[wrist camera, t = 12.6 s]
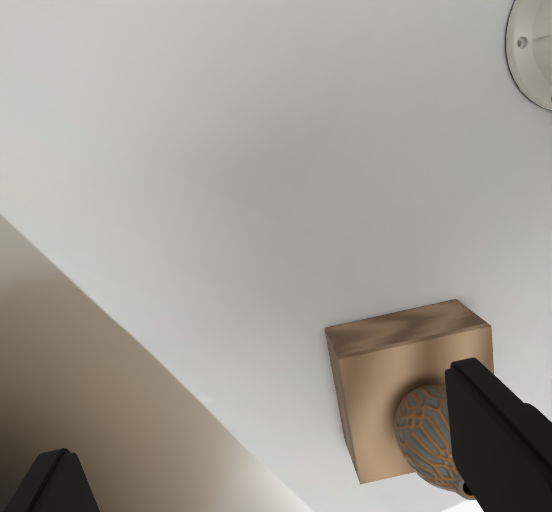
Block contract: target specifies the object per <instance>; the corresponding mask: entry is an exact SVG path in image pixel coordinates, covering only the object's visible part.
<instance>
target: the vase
mask: <svg viewBox="0 0 552 512" xmlns="http://www.w3.org/2000/svg"><path fill="white" fill-rule="evenodd" d="M394 428H395V436H396V440H397V443H398V446H399V448H400V450H401V453H402V455H403V456H404V458H405V460H406V461H407V463H408V464H409V465H410V467H411V468H412V469H413V470H414V471H415V472H416V473H417V474H418V475H419V476H420V477H421V478H423V479H424V480H425V481H427V482H428V483H430V484H432V485H434V486H436V487H438V488H441V489H444V490H448V491H452V492H456V493H457V494H459V495H460V496H462V497H463V498H465V499H468V500H476V499H475V497H474V496H473V494H472V492H471V491H470V489H469V488H468V486H467V485H466V483H465V482H464V480H463V479H462V477H461V475H460V474H459V472H458V471H457V469H456V466H455V464H454V461H453V457H452V448H451V437H450V427H449V416H448V405H447V395H446V387H444V386H440V385H427V386H422V387H419V388H416V389H414V390H412V391H411V392H409V393H408V394H407V395H406V396H405V397H404V398H403V399H402V401H401V402H400V404H399V406H398V408H397V410H396V413H395V420H394Z"/></svg>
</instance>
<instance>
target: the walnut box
mask: <svg viewBox="0 0 552 512" xmlns="http://www.w3.org/2000/svg"><path fill="white" fill-rule="evenodd" d="M325 333H326V338H327V344H328V349H329V355H330V360H331V366H332V371H333V377H334V382H335V388H336V394H337V399H338V405H339V410H340V416H341V421H342V427H343V432H344V438H345V442H346V444H347V447H348V450H349V453H350V456H351V459H352V462H353V465H354V467H355V470H356V473H357V476H358V479H359V482H360V484H364V483H368V482H373V481H377V480H382V479H386V478H390V477H395V476H399V475H403V474H408V473H412V472H415V471H414V470H413V469H412V468H411V467H410V465H409V464H408V463H407V461H406V460H405V458H404V456H403V455H402V453H401V450H400V448H399V446H398V443H397V440H396V436H395V428H394V420H395V413H396V410H397V408H398V406H399V404H400V402H401V401H402V399H403V398H404V397H405V396H406V395H407V394H408V393H409V392H411V391H412V390H414V389H416V388H419V387H422V386H427V385H440V386H444V387H446V384H445V370H446V369H450V365H451V363H452V362H454V361H459V360H463V359H468V358H472V357H474V358H476V359H478V360H479V361H480V362H481V363H482V364H483V365H484V366H485V367H486V368H487V369H488V370H489V371H491V372H492V373H493V374H494V366H493V348H492V330H491V325H489V324H488V323H487V322H485V321H484V320H483V319H481V318H480V317H479V316H477V315H476V314H475V313H473V312H472V311H471V310H470V309H468V308H467V307H466V306H464V305H463V304H462V303H460V302H459V301H458V300H451V301H446V302H442V303H437V304H433V305H428V306H423V307H419V308H414V309H410V310H405V311H401V312H396V313H391V314H387V315H382V316H378V317H373V318H369V319H364V320H359V321H355V322H350V323H346V324H341V325H336V326H332V327H327V328H325Z"/></svg>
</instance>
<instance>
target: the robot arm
mask: <svg viewBox="0 0 552 512" xmlns="http://www.w3.org/2000/svg"><path fill="white" fill-rule="evenodd" d="M517 43H518V46H517ZM506 52H507V58H508V64H509V67H510V70H511V73H512V76H513V78H514V80H515V82H516V83H517V85H518V87H519V88H520V90H521V91H522V92H523V93H524V94H525V95H526V96H527V97H528V98H529V99H530V100H531V101H533V102H534V103H536V104H537V105H539V106H541V107H543V108H546V109H549V110H552V0H515V2H514V5H513V8H512V11H511V14H510V17H509V22H508V28H507V34H506ZM445 384H446V395H447V405H448V416H449V427H450V437H451V448H452V457H453V461H454V464H455V466H456V469H457V471H458V472H459V474H460V475H461V477H462V479H463V480H464V482H465V483H466V485H467V486H468V488H469V489H470V491H471V492H472V494H473V496H474V497H475V499H476V500H477V502H478V503H479V505H480V506H481V508H482V509H483V511H484V512H552V422H551V421H549V420H548V419H547V418H546V417H545V416H544V415H543V414H542V413H541V412H540V411H539V410H538V409H536V408H535V407H534V406H532V405H531V404H528V403H523V402H522V401H521V400H520V399H519V398H518V397H517V396H516V395H515V394H514V393H513V392H512V391H511V390H510V389H509V388H507V387H506V386H505V385H504V384H503V383H502V382H501V381H500V380H499V379H498V378H497V377H496V376H495V375H494V374H493V373H492V372H491V371H489V370H488V369H487V368H486V367H485V366H484V365H483V364H482V363H481V362H480V361H479V360H478V359H476V358H474V357H472V358H468V359H463V360H459V361H454V362H452V363H451V365H450V369H446V370H445ZM3 512H100V511H99V509H98V506H97V504H96V501H95V499H94V496H93V494H92V491H91V489H90V486H89V484H88V481H87V479H86V476H85V474H84V471H83V469H82V466H81V464H80V461H79V459H78V457H77V455H76V454H75V453H70V452H69V450H68V449H66V448H63V449H58V450H54V451H49V452H44V453H41V454H39V456H38V457H37V458H36V460H35V461H34V463H33V464H32V466H31V468H30V469H29V471H28V472H27V474H26V476H25V477H24V479H23V481H22V482H21V484H20V485H19V487H18V489H17V490H16V492H15V493H14V495H13V497H12V498H11V500H10V501H9V503H8V505H7V506H6V508H5V509H4V511H3Z"/></svg>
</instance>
